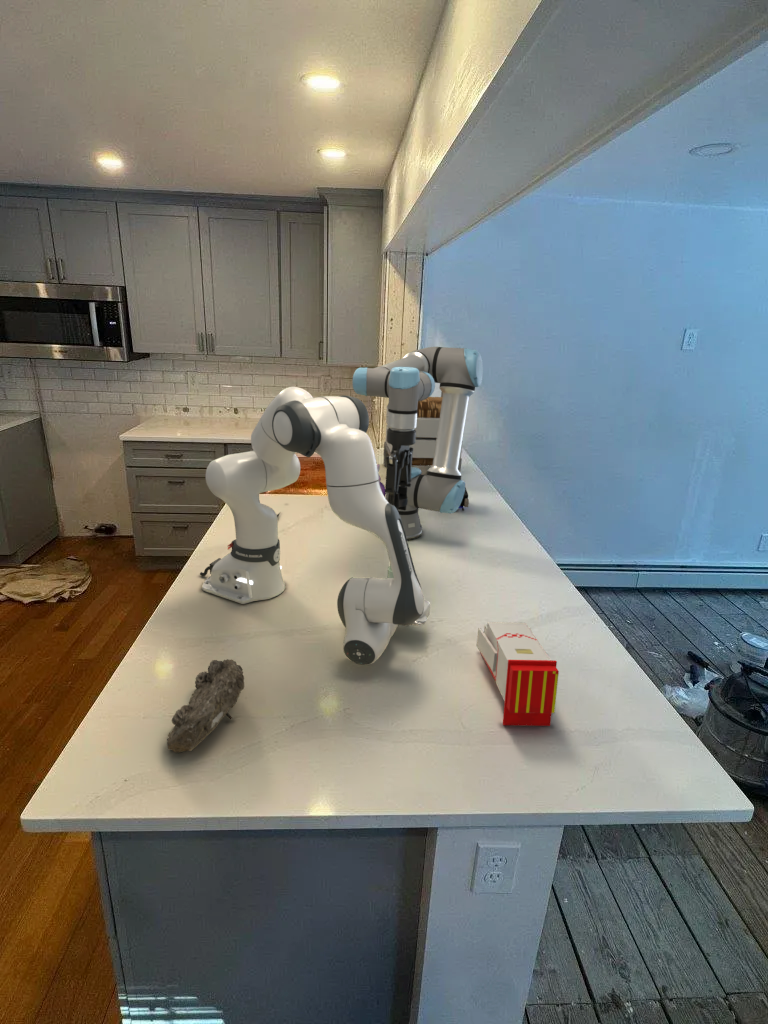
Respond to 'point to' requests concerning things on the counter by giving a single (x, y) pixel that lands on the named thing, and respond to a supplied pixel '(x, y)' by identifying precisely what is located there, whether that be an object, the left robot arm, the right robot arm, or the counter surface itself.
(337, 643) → the counter surface
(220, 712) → the fossil
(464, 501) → the figurine character
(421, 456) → the grey slatted crate
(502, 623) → the toy
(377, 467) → the figurine
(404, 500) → the lid
